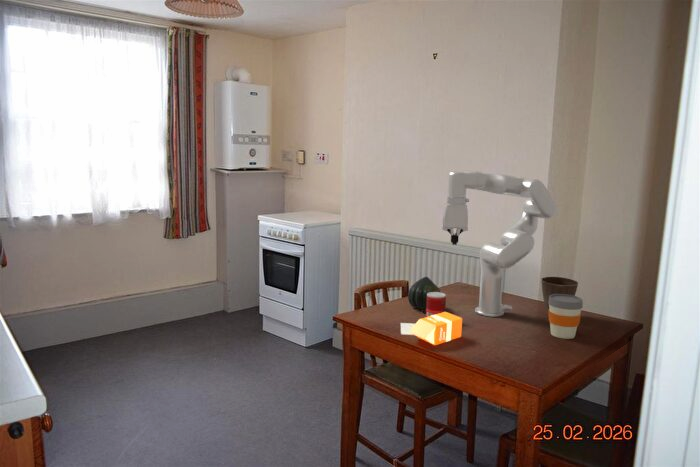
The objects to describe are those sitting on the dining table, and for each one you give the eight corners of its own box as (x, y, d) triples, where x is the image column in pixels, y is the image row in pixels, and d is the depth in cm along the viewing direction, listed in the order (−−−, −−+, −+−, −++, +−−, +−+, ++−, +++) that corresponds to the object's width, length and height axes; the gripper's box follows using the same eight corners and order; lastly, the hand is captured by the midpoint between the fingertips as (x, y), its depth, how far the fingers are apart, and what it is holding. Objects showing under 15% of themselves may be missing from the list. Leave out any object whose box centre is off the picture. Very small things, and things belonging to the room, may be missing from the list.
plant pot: (579, 315, 228) (582, 280, 226) (568, 324, 217) (572, 287, 214) (545, 308, 238) (548, 275, 235) (533, 316, 226) (536, 281, 224)
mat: (441, 325, 213) (441, 324, 213) (444, 336, 200) (445, 335, 200) (400, 323, 214) (400, 323, 214) (401, 334, 201) (401, 333, 201)
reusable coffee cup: (538, 331, 207) (541, 295, 205) (562, 327, 212) (565, 292, 210) (562, 342, 196) (566, 304, 193) (587, 337, 201) (590, 300, 198)
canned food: (444, 322, 216) (445, 297, 214) (425, 321, 218) (426, 296, 216) (445, 317, 224) (446, 292, 222) (426, 315, 225) (427, 291, 223)
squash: (417, 303, 224) (435, 276, 227) (397, 296, 236) (414, 270, 240) (435, 321, 230) (453, 293, 234) (415, 313, 243) (432, 287, 246)
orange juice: (461, 337, 199) (424, 349, 187) (444, 329, 206) (407, 341, 194) (462, 317, 198) (425, 329, 186) (445, 311, 204) (408, 321, 192)
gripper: (473, 200, 219) (470, 243, 222) (437, 200, 220) (435, 242, 223) (475, 202, 212) (473, 246, 215) (439, 201, 213) (437, 245, 216)
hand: (454, 244), depth 219 cm, fingers closed
